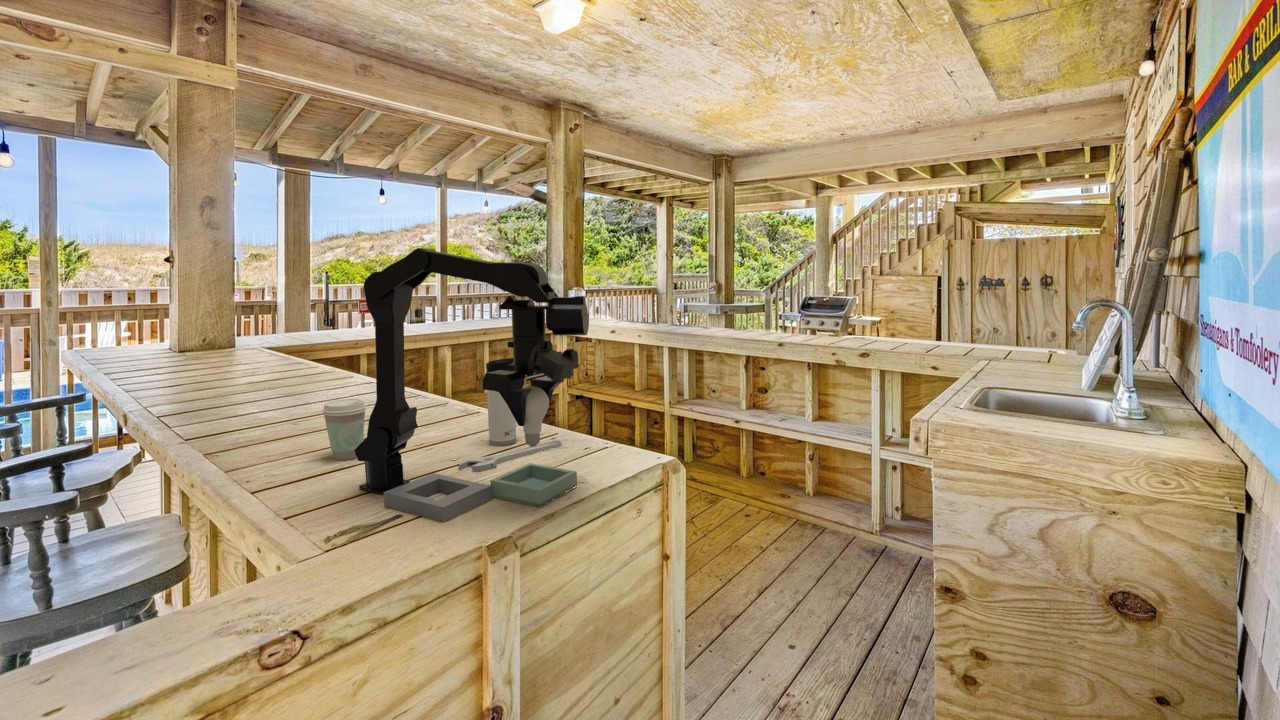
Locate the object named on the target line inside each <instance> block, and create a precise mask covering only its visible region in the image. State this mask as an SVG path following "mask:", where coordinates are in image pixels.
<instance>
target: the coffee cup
mask: <svg viewBox="0 0 1280 720" xmlns="http://www.w3.org/2000/svg"><path fill="white" fill-rule="evenodd" d="M364 403H365V401H364V400H363V399H359V398H345V399H337V400H331V401H327V402H325V403H324V406H323V409H322V412H321V413H322V415H323V416H324V420H325V425H326V430H327V436H328V441H329V444H330V448H331V449H330V451H331V454H332V459H334V460H335V459H337V461H348V460H354V459H357V457H356V454H355V452H354V450H355V449H356V448H357V447H358V446H359V445H360V444H361V443H362V442H363V440H364V439H365V438H364V435H365V419H366V417H365V416H366V411H367V408H366V407H367V406H366V404H364Z"/></svg>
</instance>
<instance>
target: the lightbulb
mask: <svg viewBox="0 0 1280 720" xmlns="http://www.w3.org/2000/svg"><path fill="white" fill-rule="evenodd" d="M526 388H529V389H532V390H531V391H530V392H529V394H528V395H527V396H526V412H525V425H524V426H522V428H523V429H522V430H523V433H524V441H525V444H526V445H527V446H528V445H529V446H528V447H535V446H536V445H538V444H540V443H541V441H540V440H541V432H542V424H543V421H544V419H545V418H544V416H545V414H546V415H547V413H548V411H549V406H550V403H549V399H548V396H547V394H546V393H545V392H544V391H543V390H542V389H541V388H538V387H535V386H531V385H530V386H526ZM546 412H547V413H546ZM543 418H544V419H543Z"/></svg>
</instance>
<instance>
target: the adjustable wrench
mask: <svg viewBox="0 0 1280 720" xmlns="http://www.w3.org/2000/svg"><path fill="white" fill-rule="evenodd" d="M562 445H563V444H562V440H558V439H557V440H556V439H554V440H550V441H546V442H542V443H541V442H540V443H539V444H537V445H536V446H535V447H530V446H527V447H522V448H518V449H515V450H510V451H507V452H503V453H499V454H494V455H488V456H487V455H486V456H480V457H479V456H478V457H469V458H463V459H462V460H460V461H459V462H458V470H459V471H462V470H464V469H467V468H469V467H471V472H472V473H479V472H485V471H489V470H492V469H495V468H497V465H498V464H501V463H504V462H509V461H512V460H516V459H520V458H524V457H527V455H528V456H531V455H535V454H538V453H537V452H539V453H541V452H540V451H543V452H545V451H544V450H547V451H549V450H548V449H550V450H552V449H551V448H554V449H558V448H561V447H562ZM560 446H561V447H560ZM557 447H558V448H557ZM534 453H535V454H534ZM523 456H524V457H523ZM519 457H520V458H519Z"/></svg>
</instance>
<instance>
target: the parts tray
mask: <svg viewBox="0 0 1280 720" xmlns="http://www.w3.org/2000/svg"><path fill="white" fill-rule="evenodd" d="M489 481H490V482H489V483H490V484H489V485H490V486H491V498H492V497H493V498H497V499H501V500H505V501H510V502H515V503H519V504H522V503H523V504H522V505H527V504H528V506H531V505H533V506H532V507H536V506H539V507H538V508H540V507H541V506H542V507H544V506H546V505H547V504H546V503H548V502H550V501H551V502H553V501H554V500H553V499H555V498H557V497H558V496H560V495H562V494H564V493H565V492H566V491H568V490H570V489H572V488H573V487H575V486H577V487H578V473H577V471H576V470H571V469H564V468H559V467H554V466H550V465H549V466H548V465H543V464H537V463H532V462H528V463H526V464H524V465H521V466H519V467H518V468H514V469H512V470H510V471H508V472H505V473H504V474H503V473H502V474H501V475H499V476H496V477H494V478H493V479H490V480H489ZM564 495H565V494H564ZM562 496H563V495H562ZM560 497H561V496H560ZM557 499H558V498H557ZM552 500H553V501H552ZM555 500H556V499H555ZM551 502H550V503H551ZM545 504H546V505H545ZM548 504H549V503H548ZM543 505H544V506H543ZM542 507H541V508H542Z"/></svg>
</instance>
